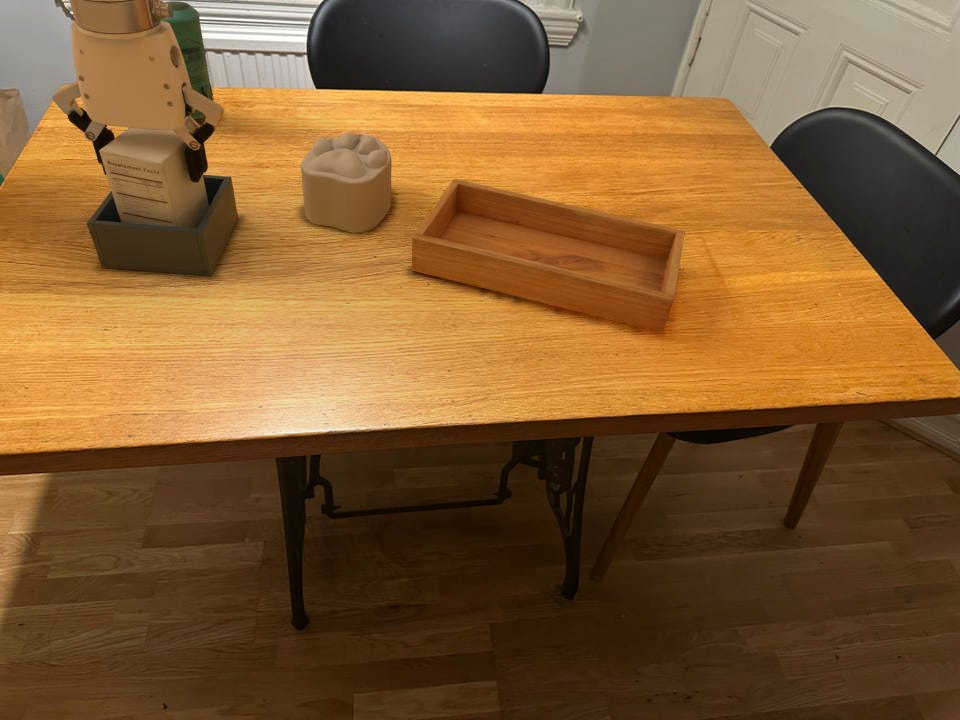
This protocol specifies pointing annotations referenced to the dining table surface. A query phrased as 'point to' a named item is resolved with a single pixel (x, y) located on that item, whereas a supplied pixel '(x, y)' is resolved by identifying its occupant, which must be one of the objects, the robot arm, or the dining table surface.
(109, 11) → the robot arm
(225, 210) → the dark grey storage bin
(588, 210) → the tray
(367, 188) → the lumpy-topped squat cylinder
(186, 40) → the beverage bottle
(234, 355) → the dining table surface
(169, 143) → the white packaging box
